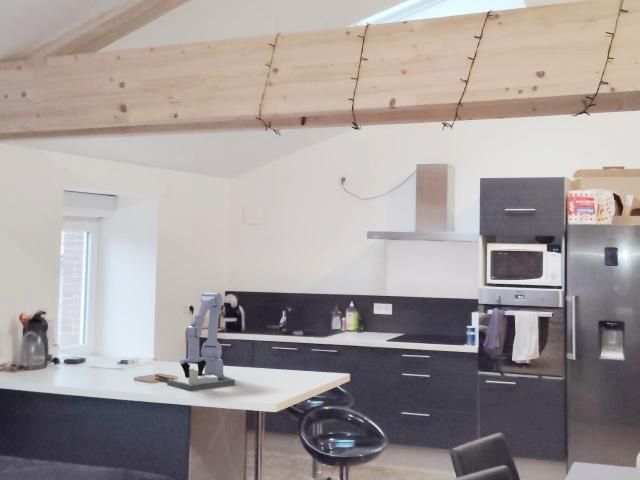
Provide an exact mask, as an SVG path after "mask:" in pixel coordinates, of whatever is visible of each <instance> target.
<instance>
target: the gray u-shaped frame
mask: <svg viewBox="0 0 640 480" xmlns="http://www.w3.org/2000/svg"><path fill="white" fill-rule="evenodd" d="M208 375H213V374H208ZM215 376H217V377H218V381H216V382H209V383H202V384H189V383H187V382H183V381H179V380H175V379H173V380H172V379H167V382H166V383H167V385H168V386H171V387H175V388H180V389H181V390H186V391H190V392H193V391H200V390H206V389H213V388H220V387H227V386H235V385H236V384H235V381H236V380H235V379H234V378H229V377H225V376H218V375H215Z"/></svg>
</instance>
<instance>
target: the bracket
mask: <svg viewBox="0 0 640 480" xmlns="http://www.w3.org/2000/svg"><path fill="white" fill-rule="evenodd" d="M216 381H218V377H217V376H215V375H206V376H198V369H197V370H196V369H195V368H189V378H188V384H191V385H194V384H202V383H209V382H216Z"/></svg>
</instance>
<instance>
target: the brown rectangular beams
mask: <svg viewBox="0 0 640 480" xmlns="http://www.w3.org/2000/svg"><path fill="white" fill-rule="evenodd" d="M202 376H205V373H204V372H203V373H202ZM154 377H155V380H156V381H160V382H164V383H167V379H172V380H174V377H171V376H168V375H163V374H159V373H158V374H155V375H154ZM156 377H158V378H156Z"/></svg>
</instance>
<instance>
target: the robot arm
mask: <svg viewBox="0 0 640 480" xmlns="http://www.w3.org/2000/svg"><path fill="white" fill-rule="evenodd" d="M200 302H201V304H200V306H199V309H198V313H197V314H195V315H194V316H193V319H192V321H191V323H190V324H189V326H187V327H186V329H185V332H184V333H185V336H186V341H187V358H185V359H184V358H183V359H179V364H180V367H182V370H183V372H184V377H185V378H186V379H189V369H191V364H190V363H193V364H194V363H196V364H197V370H198V376H202V373H203V374H205V376H206V375H208V374H213V375H218V376H222V377H225V374H224V361H223V359H222V358H221V357H222V354H223V349H222V344H221V343H220V342H219V341H218V332H219V331H218V330H219V316H220V310H221V309H222V306H223V296H222V294H221V293H220V292H203V293H202V294H201V295H200ZM208 311H209V314H208V315H209V316H208V325H207V326H208V327H207V328H208V329H207V336H206V337H207V340H206V341H204V342H203V344H202V347H201V349H200V337H202V336H201V335H202V332H203V326H204V323H205V321H206V318H205V316H206V314H207V313H208ZM200 350H201V351H200ZM200 355H201V356H200Z"/></svg>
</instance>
